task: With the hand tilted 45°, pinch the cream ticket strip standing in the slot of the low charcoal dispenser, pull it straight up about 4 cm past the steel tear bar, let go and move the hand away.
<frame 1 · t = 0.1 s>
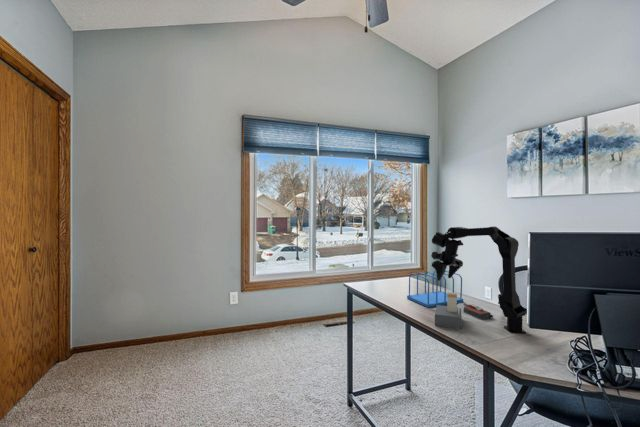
hand: (443, 279, 167), 15 cm above the table, tool pointing down, fingers open, 9 cm apart
file sorter: (434, 301, 182), on the table
dispenser: (451, 322, 149), on the table
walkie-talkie: (473, 313, 162), on the table
ticket strip: (451, 307, 149), point 7 cm above the table, slide at 0.0 cm
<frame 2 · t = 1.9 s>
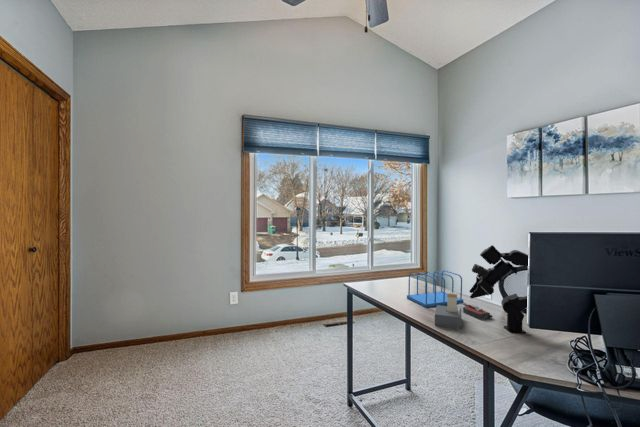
hand: (470, 294, 146), 13 cm above the table, tool tilted 45°, fingers open, 9 cm apart
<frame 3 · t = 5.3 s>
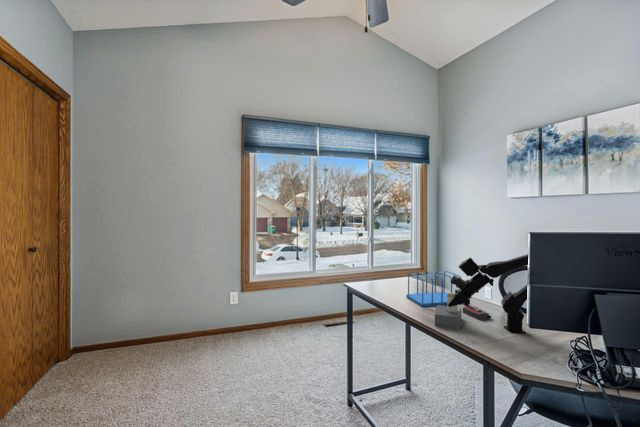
hand: (448, 305, 150), 8 cm above the table, tool tilted 45°, fingers closed on ticket strip
ticket strip: (451, 307, 149), point 7 cm above the table, slide at 0.0 cm, touching gripper
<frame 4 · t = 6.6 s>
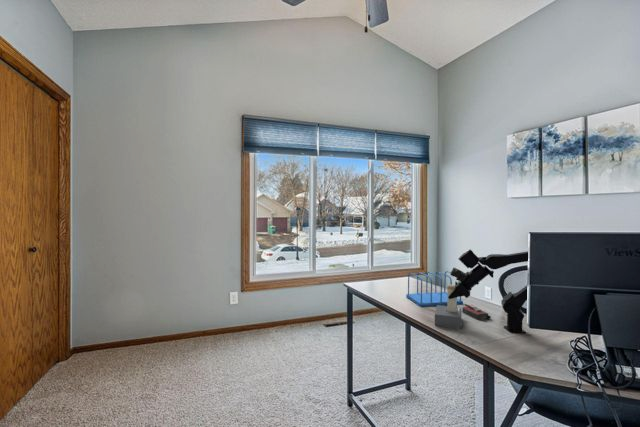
hand: (448, 297, 149), 11 cm above the table, tool tilted 45°, fingers closed on ticket strip
ticket strip: (452, 299, 149), point 10 cm above the table, slide at 3.6 cm, touching gripper
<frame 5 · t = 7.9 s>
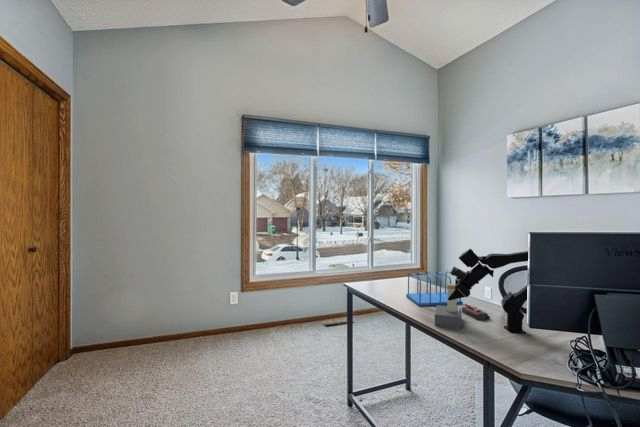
hand: (448, 296, 149), 12 cm above the table, tool tilted 45°, fingers open, 9 cm apart
ticket strip: (452, 298, 149), point 11 cm above the table, slide at 3.9 cm
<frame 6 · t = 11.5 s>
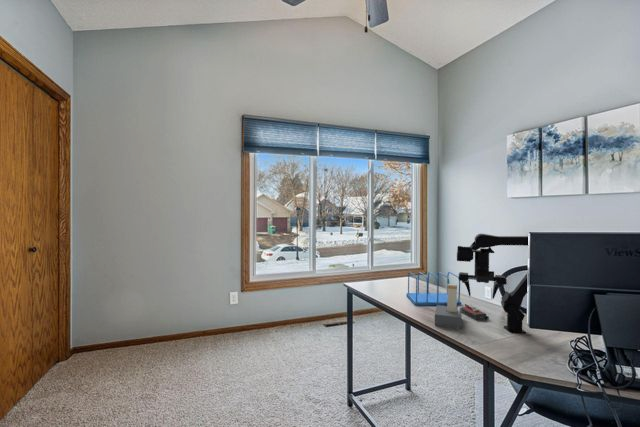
hand: (481, 297, 144), 13 cm above the table, tool pointing down, fingers open, 9 cm apart
at the end: ticket strip slide at 3.9 cm; the gripper is holding nothing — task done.
